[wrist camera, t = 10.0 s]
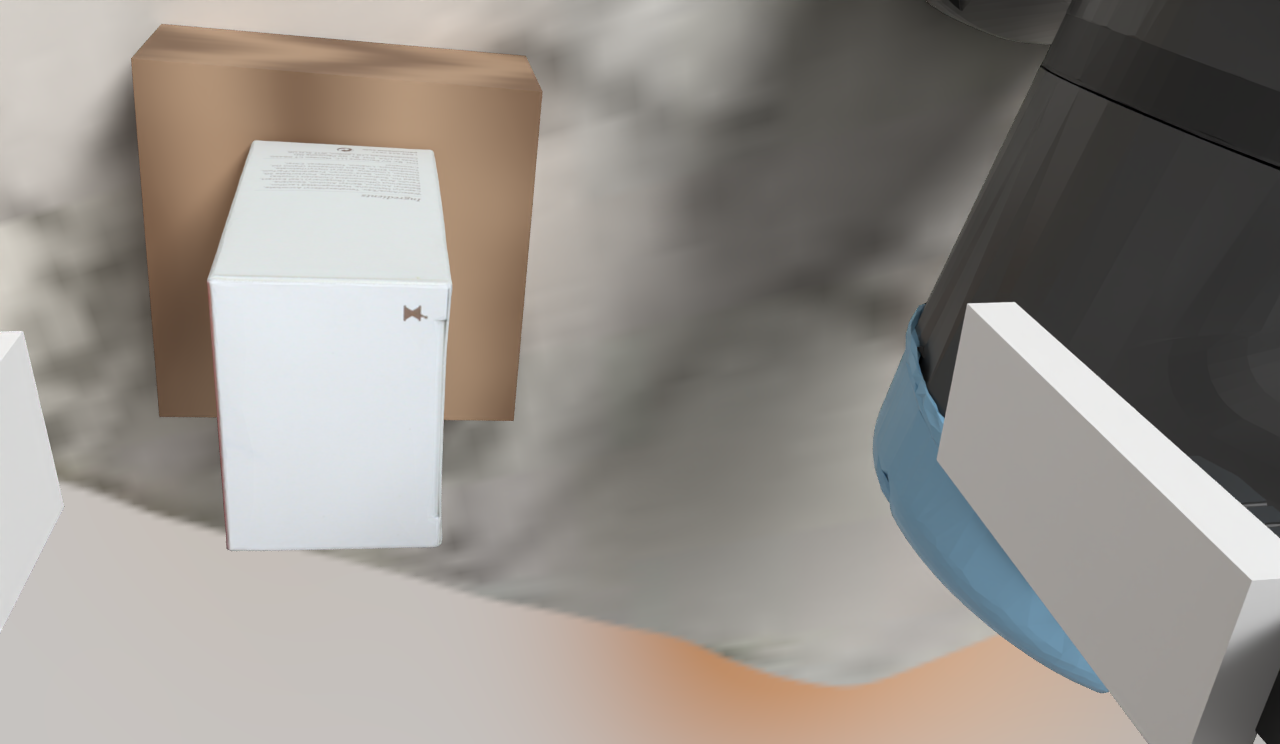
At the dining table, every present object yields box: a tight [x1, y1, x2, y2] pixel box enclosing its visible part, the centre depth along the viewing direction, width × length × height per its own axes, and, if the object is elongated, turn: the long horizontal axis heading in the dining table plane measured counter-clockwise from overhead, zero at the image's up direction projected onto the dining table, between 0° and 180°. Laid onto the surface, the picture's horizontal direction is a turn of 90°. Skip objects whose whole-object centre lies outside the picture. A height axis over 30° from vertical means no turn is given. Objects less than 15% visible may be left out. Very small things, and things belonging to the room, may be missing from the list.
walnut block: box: [131, 24, 542, 421], centre depth 38 cm, size 12×12×5 cm
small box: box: [207, 140, 452, 551], centre depth 32 cm, size 8×6×10 cm
